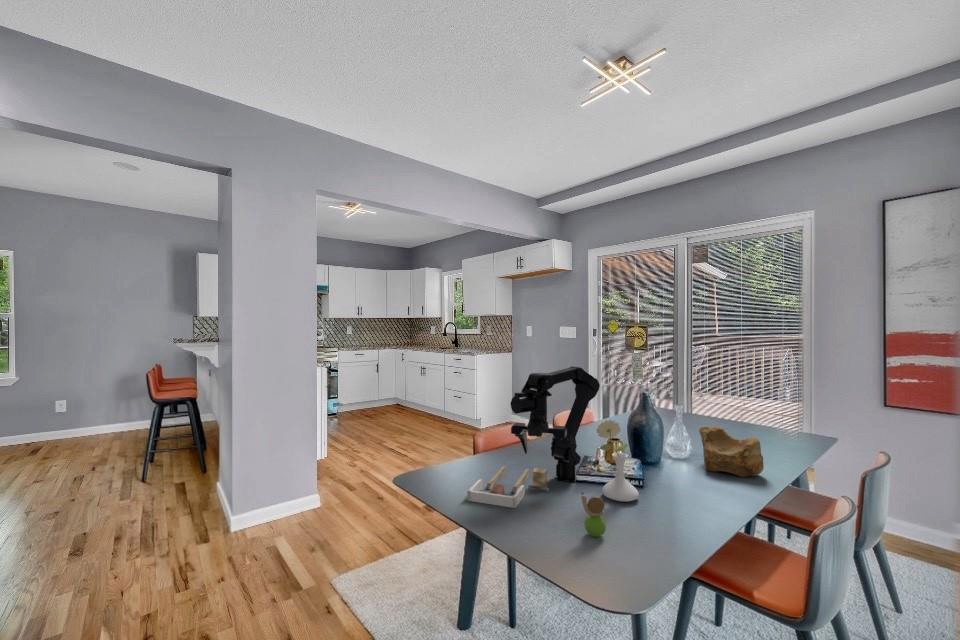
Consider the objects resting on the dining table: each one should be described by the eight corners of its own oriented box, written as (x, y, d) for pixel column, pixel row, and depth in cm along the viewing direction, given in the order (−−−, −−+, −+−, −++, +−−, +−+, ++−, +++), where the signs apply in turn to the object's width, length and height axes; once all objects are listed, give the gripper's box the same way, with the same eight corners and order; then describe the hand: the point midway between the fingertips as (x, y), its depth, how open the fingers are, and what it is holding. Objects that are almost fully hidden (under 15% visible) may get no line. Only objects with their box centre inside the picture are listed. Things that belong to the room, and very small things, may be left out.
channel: (529, 474, 156) (529, 469, 156) (516, 493, 139) (516, 487, 139) (502, 471, 159) (502, 466, 159) (487, 488, 143) (487, 483, 143)
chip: (501, 497, 136) (501, 488, 136) (498, 501, 133) (498, 491, 133) (493, 496, 137) (492, 487, 137) (490, 499, 134) (490, 490, 134)
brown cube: (504, 493, 139) (504, 484, 139) (501, 497, 136) (501, 488, 136) (495, 492, 140) (495, 483, 140) (492, 496, 137) (492, 487, 137)
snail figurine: (578, 531, 113) (578, 487, 113) (601, 530, 114) (600, 486, 114) (585, 541, 108) (584, 495, 108) (609, 540, 108) (608, 494, 108)
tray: (524, 494, 138) (524, 485, 138) (515, 508, 128) (515, 498, 128) (479, 487, 144) (479, 479, 144) (467, 500, 133) (467, 491, 133)
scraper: (551, 486, 144) (550, 469, 144) (548, 492, 140) (548, 474, 140) (531, 484, 147) (531, 467, 147) (528, 489, 142) (527, 471, 142)
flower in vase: (638, 493, 138) (637, 417, 139) (639, 507, 128) (638, 425, 128) (597, 488, 143) (597, 415, 143) (595, 501, 132) (595, 422, 132)
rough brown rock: (682, 467, 166) (680, 430, 165) (707, 457, 174) (706, 422, 173) (742, 489, 145) (741, 447, 144) (767, 476, 153) (766, 437, 152)
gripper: (506, 412, 140) (506, 459, 140) (562, 416, 134) (562, 465, 134) (515, 406, 151) (515, 449, 150) (567, 409, 144) (567, 454, 144)
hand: (539, 454), depth 144 cm, fingers open, 9 cm apart
